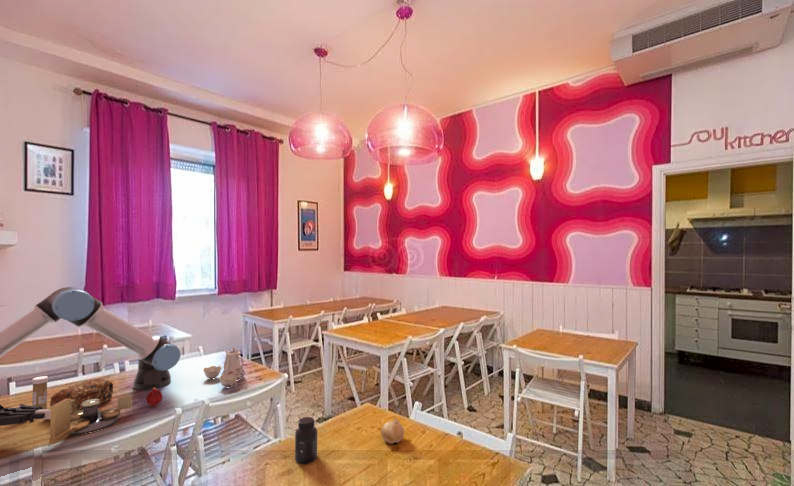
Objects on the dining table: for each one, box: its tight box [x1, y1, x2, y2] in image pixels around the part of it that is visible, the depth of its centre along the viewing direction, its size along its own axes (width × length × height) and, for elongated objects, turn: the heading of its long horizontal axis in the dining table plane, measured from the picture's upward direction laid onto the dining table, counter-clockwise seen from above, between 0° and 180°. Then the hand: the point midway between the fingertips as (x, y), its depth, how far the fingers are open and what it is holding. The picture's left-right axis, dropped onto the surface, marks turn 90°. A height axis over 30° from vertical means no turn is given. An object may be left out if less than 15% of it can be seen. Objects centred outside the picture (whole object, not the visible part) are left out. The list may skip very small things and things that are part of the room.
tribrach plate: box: [68, 394, 133, 437], centre depth 142 cm, size 22×18×8 cm
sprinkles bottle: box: [31, 375, 49, 409], centre depth 152 cm, size 5×5×14 cm
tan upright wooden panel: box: [48, 398, 89, 445], centre depth 131 cm, size 14×6×12 cm, turn 5°
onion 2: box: [380, 418, 405, 445], centre depth 131 cm, size 8×8×7 cm
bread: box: [49, 378, 114, 411], centre depth 156 cm, size 19×11×10 cm, turn 171°
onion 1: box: [145, 387, 163, 408], centre depth 157 cm, size 6×6×8 cm
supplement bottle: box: [294, 416, 318, 465], centre depth 120 cm, size 7×7×12 cm
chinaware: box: [202, 347, 246, 389], centre depth 187 cm, size 28×17×17 cm, turn 55°
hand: (57, 413), depth 129 cm, fingers closed
